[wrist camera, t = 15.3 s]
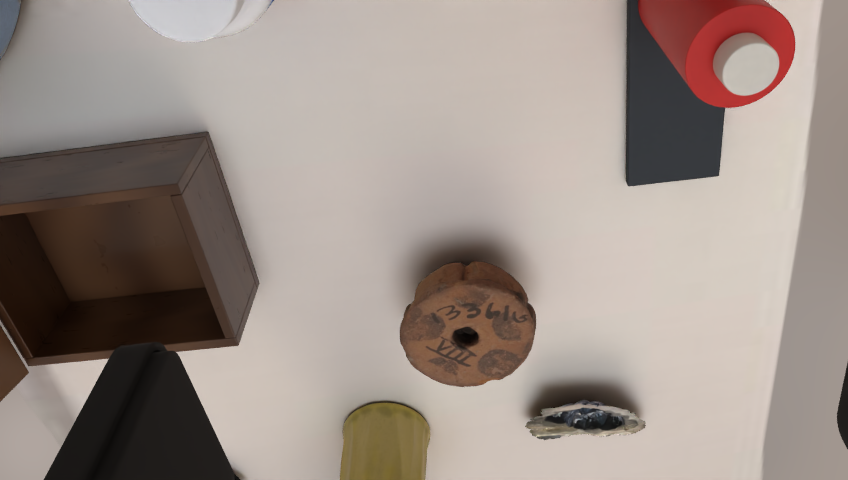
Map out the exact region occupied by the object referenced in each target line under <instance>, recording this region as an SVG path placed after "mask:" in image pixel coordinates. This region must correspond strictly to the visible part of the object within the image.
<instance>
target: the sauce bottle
mask: <svg viewBox="0 0 848 480" xmlns="http://www.w3.org/2000/svg"><path fill="white" fill-rule="evenodd" d="M638 10H639V15H640V18H641V20H642V22H643V24H644V25H645V27H646V28H647V30H648V31H649V32H650V34H651V35H652V37H653V38H654V39H655V41H656V42H657V43H658V45H659V46H660V48H661V49H662V50H663V52H664V53H665V54H666V56H667V57H668V59H669V60H670V61H671V63H672V64H673V66H674V67H675V68H676V70H677V71H678V72H679V74H680V75H681V77H682V78H683V79H684V81H685V82H686V83H687V85H688V86H689V88H690V89H691V90H692V92H693V93H694V94H695V95H696V96H697V97H698V98H699V99H701V100H702V101H703V102H705V103H707V104H710V105H713V106H717V107H724V108H731V107H739V106H744V105H747V104H750V103H752V102H755V101H757V100H759V99H761V98H762V97H764V96H765V95H767V94H768V93H770V92H771V91H772V90H773V89H774V88H775V87H776V86H777V85H778V84H779V83H780V82H781V81H782V79H783V78H784V77H785V75H786V74H787V72H788V70H789V68H790V66H791V64H792V61H793V58H794V53H795V36H794V32H793V29H792V27H791V25H790V23H789V22H788V20H787V19H786V18H785V17H784V16H783V15H782V14H781V13H780V12H779V11H777V10H776V9H775V8H773V7H772V6H771V5H770V4H768V3H767V2H766V1H765V0H638Z"/></svg>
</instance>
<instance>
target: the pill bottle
mask: <svg viewBox="0 0 848 480" xmlns="http://www.w3.org/2000/svg"><path fill="white" fill-rule="evenodd" d="M128 1H129V3H130V5H131V7H132V8H133V10H134V11H135V13H136V14H137V15H138V16H139V18H140V19H141V20H142V21H143V22H144V23H145V24H146V25H147V26H149V27H150V28H151V29H152V30H154V31H155V32H157V33H159V34H160V35H162V36H165V37H167V38H169V39H172V40H175V41H180V42H201V41H205V40H208V39H211V38H213V37H214V38H216V37H226V36H230V35H234V34H237V33H239V32H241V31H243V30H245V29H247V28H249V27H250V26H251V25H253V24H254V23H255V22H256V21H257V20H258V19H259V18H260V17H261V16H262V15H263V14H264V13H265V11H266V10H267V9H268V7H269V6H270V5H271V3H272V2H273V1H274V0H128Z"/></svg>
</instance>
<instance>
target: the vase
mask: <svg viewBox="0 0 848 480" xmlns="http://www.w3.org/2000/svg"><path fill="white" fill-rule="evenodd" d="M343 439H344V444H343V452H342V460H341V471H340V480H425V475H426V457H427V447H428V444H429V440H430V429H429V426H428V424H427V422H426V421H425V420H424V418H423V417H422V416H421V415H420V414H418V413H417V412H416V411H414V410H413V409H411V408H409V407H406V406H403V405H400V404H396V403H373V404H369V405H367V406H364V407H362V408H360V409H358V410H356V411H354V412H353V413H352V414H351V415H350V416H349V417H348V418H347V420H346V421H345V423H344V426H343Z"/></svg>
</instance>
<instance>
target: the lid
mask: <svg viewBox="0 0 848 480" xmlns="http://www.w3.org/2000/svg"><path fill="white" fill-rule="evenodd" d="M28 373H29V372H28V370H27V368H26V367H25V365H24V364H23V362H22V360H21V359H20V357H19V355H18V354H17V352H16V350H15V349H14V347H13V345H12V344H11V342H10V340H9V339H8V337H7V335H6V334H5V332H4V330H3V329H2V327H1V325H0V402H1V401H2V399H3V398H5V396H6V395H7V394H8V393H9V392H10V391H11V390H12V389H13V388H14V387H15V386H16V385H17V384H18V383H19V382H20V381H21V380H22V379H23V378H24V377H25V376H26V375H27V374H28Z"/></svg>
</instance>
